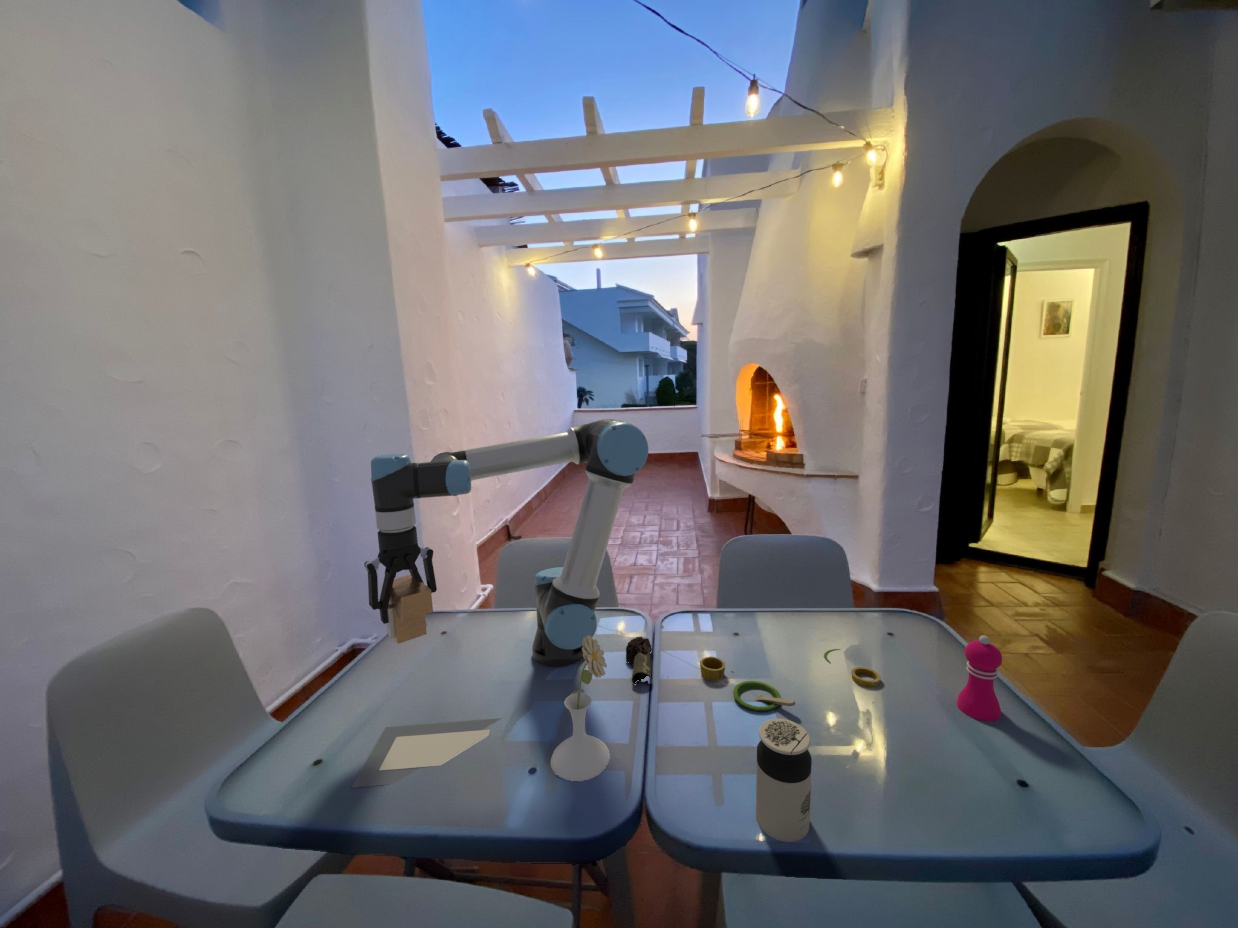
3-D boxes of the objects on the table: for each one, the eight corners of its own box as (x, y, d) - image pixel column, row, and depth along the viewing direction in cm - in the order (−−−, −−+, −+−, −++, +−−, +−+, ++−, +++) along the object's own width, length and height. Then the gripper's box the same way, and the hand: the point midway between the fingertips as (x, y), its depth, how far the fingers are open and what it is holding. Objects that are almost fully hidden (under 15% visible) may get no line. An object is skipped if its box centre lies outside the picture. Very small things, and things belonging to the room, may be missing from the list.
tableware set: (709, 731, 102) (708, 703, 101) (695, 658, 130) (694, 635, 129) (912, 732, 100) (914, 704, 99) (854, 657, 128) (855, 635, 127)
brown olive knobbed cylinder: (652, 689, 115) (652, 667, 114) (623, 688, 116) (623, 666, 115) (652, 651, 133) (652, 631, 132) (627, 650, 133) (627, 631, 132)
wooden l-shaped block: (417, 624, 112) (412, 574, 110) (436, 643, 103) (430, 589, 101) (389, 633, 108) (383, 581, 106) (406, 654, 99) (400, 597, 97)
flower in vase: (588, 801, 85) (581, 669, 81) (538, 776, 91) (529, 651, 87) (626, 753, 96) (622, 634, 92) (580, 733, 102) (574, 620, 98)
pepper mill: (986, 744, 96) (995, 649, 92) (947, 722, 102) (954, 632, 99) (1006, 731, 99) (1015, 639, 96) (967, 711, 105) (975, 623, 102)
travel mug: (745, 833, 78) (746, 731, 76) (775, 806, 83) (777, 710, 80) (789, 871, 72) (792, 762, 69) (819, 840, 77) (822, 736, 74)
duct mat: (509, 721, 107) (509, 716, 106) (497, 779, 91) (496, 774, 91) (386, 731, 105) (385, 726, 105) (351, 792, 89) (350, 786, 89)
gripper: (435, 515, 113) (443, 610, 116) (342, 533, 100) (355, 639, 104) (448, 522, 107) (456, 621, 111) (351, 541, 95) (364, 652, 98)
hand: (407, 629), depth 107 cm, fingers closed on wooden l-shaped block, 6 cm apart
